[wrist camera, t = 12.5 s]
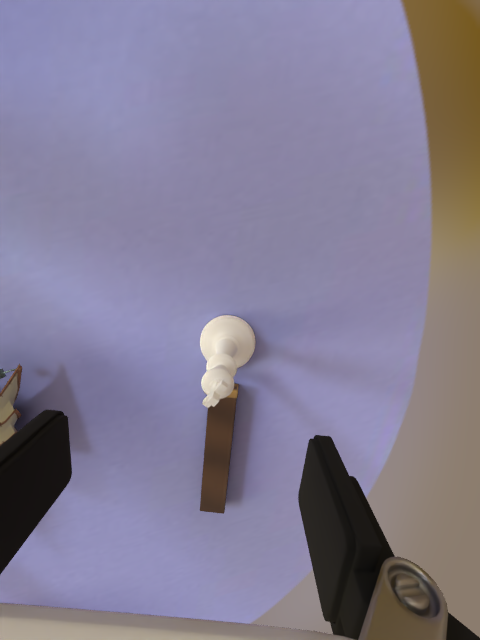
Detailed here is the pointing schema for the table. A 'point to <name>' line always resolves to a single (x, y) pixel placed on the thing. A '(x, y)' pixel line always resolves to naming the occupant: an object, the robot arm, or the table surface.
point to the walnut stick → (218, 453)
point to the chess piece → (224, 355)
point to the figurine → (9, 404)
